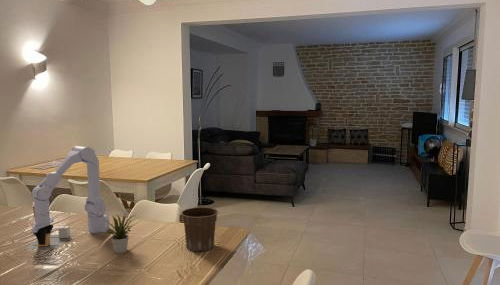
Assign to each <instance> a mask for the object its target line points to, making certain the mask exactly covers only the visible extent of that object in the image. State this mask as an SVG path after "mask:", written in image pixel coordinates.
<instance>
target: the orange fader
mask: <svg viewBox="0 0 500 285" xmlns="http://www.w3.org/2000/svg"><path fill="white" fill-rule="evenodd" d="M50 235H51V233H46V236H45V244H44V245H39V242H38V246H48V245H49V244H50Z"/></svg>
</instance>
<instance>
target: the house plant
mask: <svg viewBox="0 0 500 285" xmlns="http://www.w3.org/2000/svg"><path fill="white" fill-rule="evenodd" d="M135 216H136V214H134V215H131V216H129V217H128V218H127V219H126V213H125V214H124V215H123V217H122V219H121V217H120V216H119V215H118V214H116V217H115V215H112V220H113V222H114V223H113V224H114V225H113V224H111V223H110V221H109V222H108V223H109V226H111V227H112V229H111V227H110V228H108V230H107V231H106V233H108V234H111V235H112V237H111V242H112V246H113V251H114V253H117V254H118V253H119V254H120V253H121V254H122V253H125V252H126V251H128V243H129V233H131V231H132V230H131V228H132V229H133V226H134V224H132V225H131V226H130V224H131V223H132V221H133V222H134V221H135V220H136V218H135V219H131V218H133V217H135ZM125 220H126V221H125ZM103 221H104V220H103ZM106 222H107V221H106Z"/></svg>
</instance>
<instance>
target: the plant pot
mask: <svg viewBox="0 0 500 285" xmlns="http://www.w3.org/2000/svg"><path fill="white" fill-rule="evenodd" d="M180 214H181V216H182V221H183V226H184V234H185V246H186V248H187V250H188V251H191V252H200V251H202V252H205V251H210V250H211V249H213V248H214V247H215V234H216V222H217V217H218V214H219V210H217V209H216V208H213V207H207V206H205V207H204V206H201V207H200V206H199V207H197V206H196V207H190V208H186V209H184V210H182V211H181V213H180Z"/></svg>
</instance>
